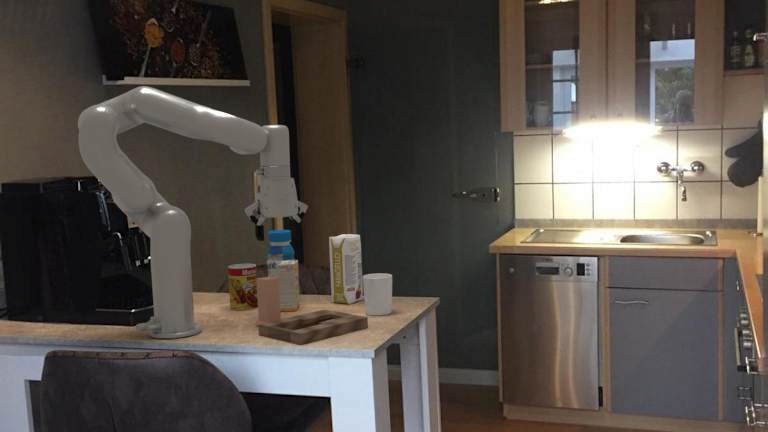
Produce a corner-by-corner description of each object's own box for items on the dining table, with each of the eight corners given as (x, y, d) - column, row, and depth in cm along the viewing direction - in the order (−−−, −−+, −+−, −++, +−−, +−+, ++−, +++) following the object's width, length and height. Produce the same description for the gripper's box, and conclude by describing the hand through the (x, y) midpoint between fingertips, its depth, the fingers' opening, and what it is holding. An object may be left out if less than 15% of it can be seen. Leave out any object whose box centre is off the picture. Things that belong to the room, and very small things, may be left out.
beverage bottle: (299, 298, 242) (295, 231, 240) (270, 301, 240) (267, 233, 238) (294, 293, 250) (291, 228, 248) (267, 296, 248) (263, 230, 246)
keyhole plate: (300, 344, 186) (300, 333, 186) (259, 335, 197) (258, 324, 197) (367, 327, 201) (367, 317, 200) (325, 319, 212) (324, 309, 212)
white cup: (360, 316, 214) (358, 278, 213) (368, 309, 222) (366, 273, 221) (389, 316, 212) (388, 278, 211) (396, 310, 220) (395, 273, 219)
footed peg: (267, 329, 203) (264, 281, 202) (250, 325, 208) (247, 278, 207) (289, 324, 208) (287, 277, 207) (272, 320, 213) (270, 274, 212)
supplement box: (297, 311, 224) (294, 263, 222) (279, 311, 224) (277, 264, 223) (300, 305, 232) (298, 259, 231) (283, 305, 232) (281, 260, 231)
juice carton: (366, 299, 237) (363, 234, 235) (350, 305, 229) (347, 237, 227) (344, 297, 240) (341, 233, 239) (328, 303, 233) (325, 237, 231)
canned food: (253, 310, 227) (250, 267, 226) (226, 310, 228) (223, 268, 227) (262, 304, 235) (260, 263, 234) (236, 305, 236) (233, 263, 235)
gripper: (249, 174, 204) (252, 243, 205) (312, 172, 213) (314, 237, 214) (238, 174, 210) (241, 240, 211) (299, 171, 219) (301, 235, 221)
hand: (277, 239), depth 213 cm, fingers open, 9 cm apart
